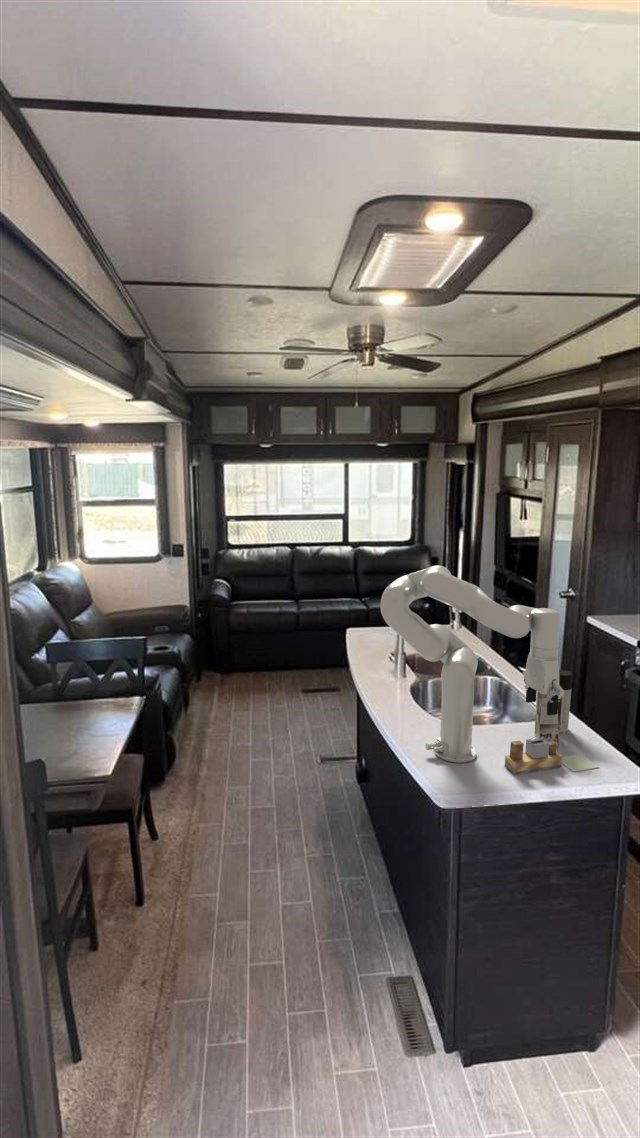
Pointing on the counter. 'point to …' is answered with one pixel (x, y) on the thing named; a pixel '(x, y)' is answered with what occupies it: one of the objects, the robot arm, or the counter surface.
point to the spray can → (565, 698)
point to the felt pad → (578, 763)
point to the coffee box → (547, 720)
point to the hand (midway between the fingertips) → (541, 708)
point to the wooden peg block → (525, 764)
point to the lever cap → (537, 748)
